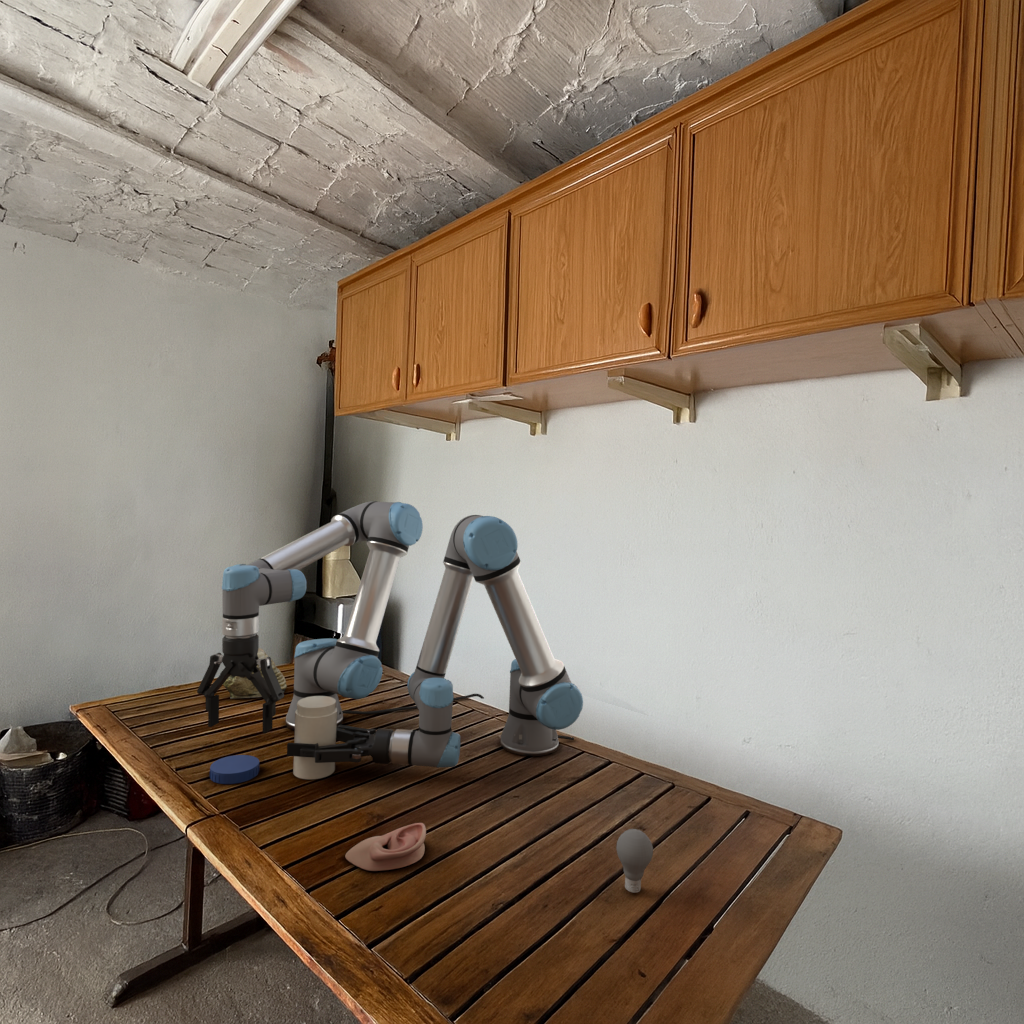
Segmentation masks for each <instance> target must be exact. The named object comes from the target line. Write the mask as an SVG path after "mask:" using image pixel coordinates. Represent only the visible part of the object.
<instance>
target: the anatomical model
mask: <svg viewBox="0 0 1024 1024" xmlns="http://www.w3.org/2000/svg"><path fill="white" fill-rule="evenodd" d="M426 837H427V827H426V824H425V823H423V822H415V823H412V824H408V825H404V826H402V827H399V828H396V829H394V830H392V831H390V832H388V833H384V834H382V835H375V836H372V837H367V838H365V839H364V840H361V841H360V842H358V843H357V844H356V845H353V847H351V848H350V849H349V850H348V851H347V852H346V853H345V856H344V857H345V860H347V862H349V863H350V864H352V865H354V866H356V867H357V868H360V869H362V870H364V871H367V872H378V871H380V872H381V871H389V870H396V869H400V868H404V867H407V866H410V865H412V864H415V863H417V862H418V861H420V860H421V859H422V858H423V857H424V854H425V851H426V849H425V848H426V846H425V843H424V842H425V840H426Z"/></svg>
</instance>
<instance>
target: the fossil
mask: <svg viewBox="0 0 1024 1024" xmlns="http://www.w3.org/2000/svg"><path fill="white" fill-rule="evenodd" d="M257 655H258V658H259V659H262V658H266V657H270V656H269V655H268V654H267V653H266V652H265V650H264V649H263V648H260V647H259V649H258V653H257ZM271 663H272V668H273V670H274V673H275V675H276V677H277V680H278V682H279V684H280V687H281V689H282V691H283V693H285V691H286V689H287V687H288V686H287V680H286V678H285V676H284V674H283V673H282V672H281V669H279V668H278V667H277V665H276V663H275V662H274V660H273V659H272V658H271ZM257 668H258V669H259V670H260V672H261V668H259V665H257ZM252 674H254V673H253V672H252ZM261 676H262V677H263V674H262V672H261ZM263 678H264V677H263ZM264 680H265V679H264ZM222 686H223V687H224V688H225V690H226V691H228V693H229V698H230V699H250V698H263V697H262V696H261V694H260V693H259V692H258V690H257V689H256V687H255V686H254V685H253V683H252V682H251V681H250V680H248V679H247V677H244V678H243V677H239V676H236V677H233V676H232V675H230V676H229V678H228V679H227V680H226V681H225V683H224V684H223V685H222Z"/></svg>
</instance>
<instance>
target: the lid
mask: <svg viewBox="0 0 1024 1024" xmlns="http://www.w3.org/2000/svg"><path fill="white" fill-rule="evenodd" d="M259 774H260V759H259V758H258V757H256V756H254V755H249V754H235V755H228V756H225V757H221V758H219V759H217V760H215V761H213V762H212V763H211V765H210V766H209V779H210V781H212V782H213V783H215V784H221V785H234V784H235V785H236V784H241V783H244V782H245V783H246V782H248V781H250V780H253V779H254V778H256V777H257V776H258V775H259Z"/></svg>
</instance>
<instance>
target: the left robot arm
mask: <svg viewBox="0 0 1024 1024" xmlns="http://www.w3.org/2000/svg"><path fill="white" fill-rule="evenodd" d="M423 528H424V527H423V519H422V517H421V514H420V512H419V510H418V509H417V508H416V507H415V506H414V505H412V504H410V503H406V502H405V503H404V502H400V501H396V502H393V501H378V500H377V501H376V500H370V501H366V502H363V503H359V504H357V505H355V506H352V507H350V508H348V509H346V510H344V511H342V512H339V513H338V514H336V515H334V516H332V518H331V519H330V522H328V523H326V524H324V525H322V526H320V527H318V528H317V529H314V530H312V531H311V532H308V533H307V534H305V535H303V536H301V537H299V538H297V539H294V540H293V541H291V542H289V543H288V544H284V545H283V546H282V547H279V548H277V549H275V550H273V551H272V552H270V553H267V554H266V555H264V556H262V557H260V558H258V559H256V560H254V561H252V562H250V563H247V564H246V563H240V564H239V563H237V564H234V565H230V566H227V567H226V568H225V569H224V570H223V572H222V582H221V583H222V585H221V590H222V591H221V592H222V593H221V594H222V635H223V637H222V640H221V641H222V644H221V646H222V647H221V652H222V653H221V652H217V653H215V654H212V655H210V656H209V665H208V666H207V669H206V671H205V673H204V676H203V677H202V680H201V682H200V684H199V686H198V688H197V689H196V692H197V694H198V695H202V696H204V698H205V711H206V712H207V727H208V728H212V727H214V726H217V725H218V724H219V723H220V694H217V693H218V691H219V690H221V688H222V686H224V685H223V684H224V683H225V681H226V680H227V679H228V678H229V676H230V675H232V676H233V677H236V676H239V677H243V678H244V677H247V679H248V680H250V681H251V682H252V683H253V685H254V686H255V687H256V689H257V690H258V692H259V693H260V694H261V696H262V697H261V698H262V699H263V700H264V701H265V702H264V703H262V734H267V733H268V732H270V731H271V730H273V726H274V725H273V720H274V719H273V718H274V717H275V716H276V713H277V705H276V704H277V703H278V702H279V701H280V700H283V699H284V698H285V694H284V693H285V692H283V691H282V689H281V687H280V684H279V682H278V680H277V677H276V675H275V673H274V670H273V668H272V663H271V659H272V658H271V656H269V657H266V658H262V659H259V658H258V655H257V653H258V649H259V648H260V647H259V643H260V642H259V641H260V639H259V638H260V637H259V635H258V633H259V632H260V607H261V606H266V605H273V604H282V603H287V602H288V603H291V602H293V601H297V600H301V599H302V598H303V597H304V596H305V594H306V592H307V579H306V576H305V574H304V573H303V572H302V571H301V569H304V568H305V567H308V566H309V565H311V564H313V563H315V562H316V561H318V560H320V559H322V558H324V557H325V556H328V555H330V554H331V553H332V552H334V551H336V550H338V549H340V548H342V547H343V546H344V547H351V546H353V545H355V544H356V543H361V542H366V546H367V547H368V550H369V553H368V555H367V559H366V561H365V567H364V569H363V571H362V572H363V573H362V576H361V578H360V581H359V582H360V583H359V586H358V589H357V592H356V596H355V599H354V601H353V605H352V608H351V613H350V616H349V619H348V622H347V625H346V629H345V632H344V635H342V636H341V637H340V638H338V639H337V638H331V637H329V638H317V639H316V638H315V639H308V640H304V641H300V642H299V643H298V644H297V645H296V646H295V650H294V651H295V652H294V655H293V658H294V672H293V695H292V696H293V697H292V699H291V702H290V704H289V708H288V711H287V713H286V715H285V726H286V728H287V729H289V730H291V731H295V711H296V710H297V703H298V701H299V700H301V699H303V698H306V697H311V696H328V697H332V698H334V699H335V700H336V708H337V727H338V725H342V723H343V722H344V715H347V714H348V715H377V714H384V713H391V712H399V711H408V710H416V709H418V708H417V706H416V705H411V706H402V707H392V708H386V709H378V710H369V711H364V710H363V711H361V710H343V709H342V706H341V702H340V699H339V695H340V696H341V697H343V698H348V699H353V700H360V699H365V698H367V697H368V696H369V695H370V694H372V693H373V692H374V691H375V690H376V688H377V687H378V686H379V685H380V682H381V680H382V677H383V666H382V662H381V660H380V659H379V658H378V657H379V654H380V648H379V647H378V645H377V641H378V636H379V633H380V631H381V630H380V629H381V626H382V623H383V620H384V616H385V612H386V609H387V605H388V601H389V598H390V595H391V592H392V588H393V584H394V581H395V577H396V573H397V571H398V566H399V564H400V560H401V559H402V558H403V557H405V556H406V555H408V551H409V549H410V546H414V545H415V544H417V542H419V541H420V539H421V538H422V534H423ZM221 664H222V665H223V666H224V668H223V669H222V671H221V672H220V673H219V675H218V677H217V678H216V679H215V677H216V675H217V673H218V671H219V669H220V667H221ZM257 665H259V668H261V672H262V674H263V677H264V678H263V677H262V676H261V672H260V670H259V669H258V668H257ZM252 672H253V673H254V674H252ZM214 679H215V680H214ZM264 679H265V680H264ZM474 697H478V698H480V699H482V700H484V699H485V697H484V696H483V695H482V694H480V693H471V694H467V695H463V696H457V697H456V696H455V697H454V698H453V702H454V701H459V700H466V699H469V698H474Z"/></svg>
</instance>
